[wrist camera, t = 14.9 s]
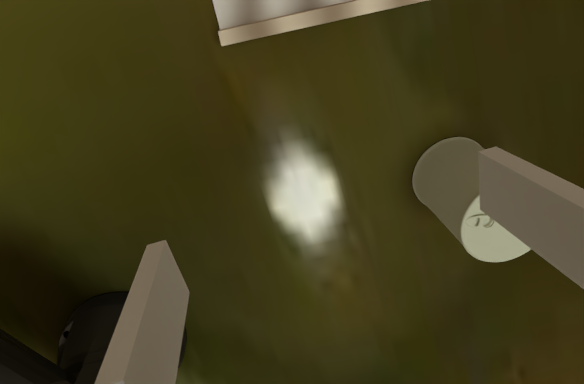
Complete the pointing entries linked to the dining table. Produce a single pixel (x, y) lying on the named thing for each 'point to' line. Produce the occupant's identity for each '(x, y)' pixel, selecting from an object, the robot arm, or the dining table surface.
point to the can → (462, 199)
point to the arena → (287, 15)
